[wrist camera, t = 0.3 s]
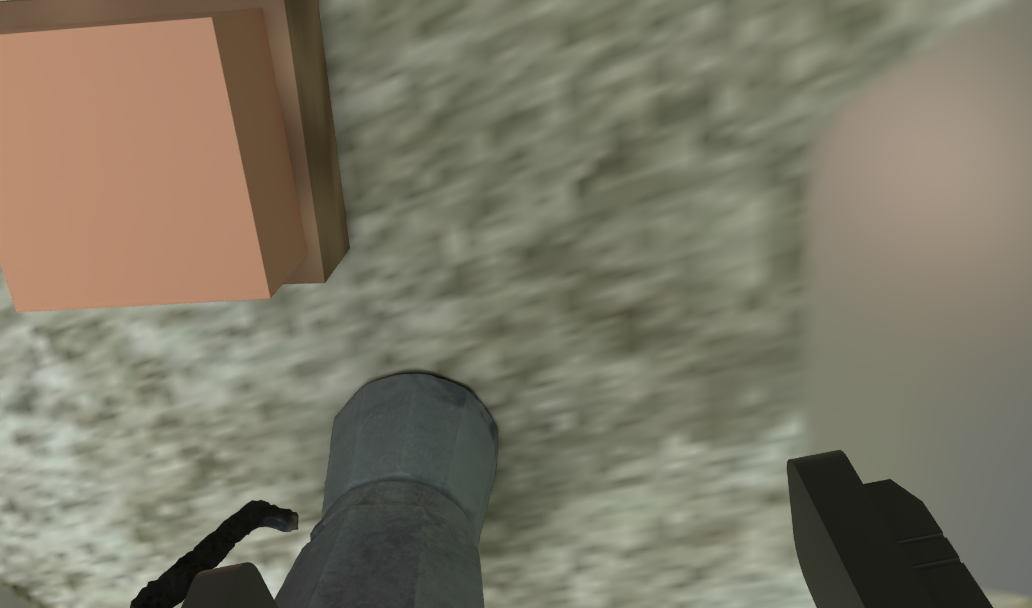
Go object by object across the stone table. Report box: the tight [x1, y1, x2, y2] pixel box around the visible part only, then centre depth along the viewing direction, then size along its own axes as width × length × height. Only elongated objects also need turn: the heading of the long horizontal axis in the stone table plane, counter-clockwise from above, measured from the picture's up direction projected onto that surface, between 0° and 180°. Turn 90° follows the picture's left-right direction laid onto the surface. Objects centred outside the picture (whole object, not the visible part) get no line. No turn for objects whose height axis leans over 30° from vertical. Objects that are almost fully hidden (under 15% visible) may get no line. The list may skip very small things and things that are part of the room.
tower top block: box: [0, 8, 308, 312], centre depth 32 cm, size 10×10×5 cm
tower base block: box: [0, 0, 350, 284], centre depth 36 cm, size 12×12×5 cm
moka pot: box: [130, 374, 498, 608], centre depth 35 cm, size 10×15×20 cm, turn 71°
